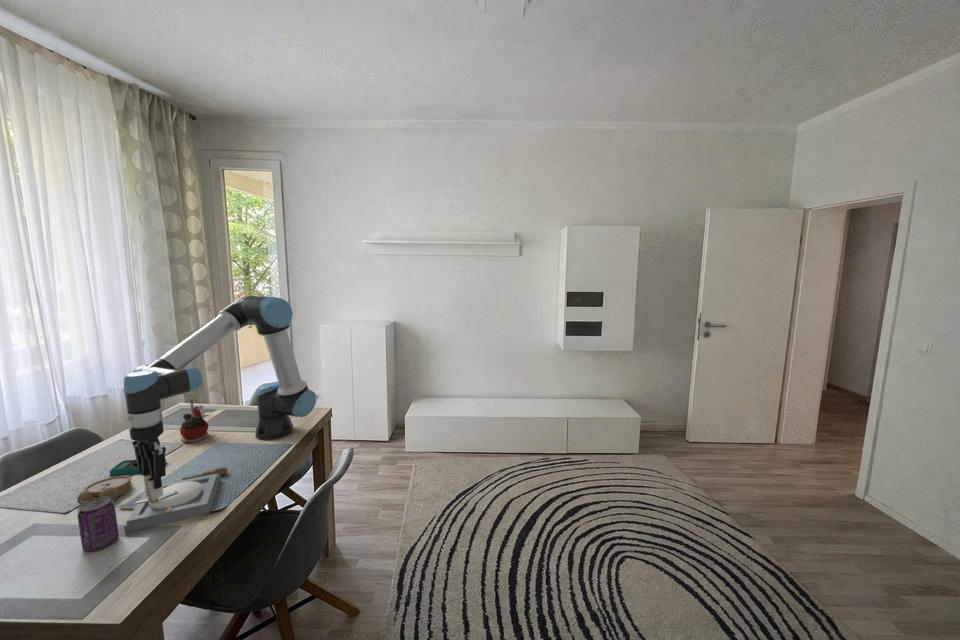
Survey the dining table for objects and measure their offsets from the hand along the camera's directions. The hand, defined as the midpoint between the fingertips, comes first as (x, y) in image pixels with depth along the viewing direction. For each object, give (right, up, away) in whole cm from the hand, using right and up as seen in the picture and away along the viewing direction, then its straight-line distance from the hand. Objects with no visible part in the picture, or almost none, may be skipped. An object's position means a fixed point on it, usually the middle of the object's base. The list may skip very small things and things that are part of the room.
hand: (154, 495), depth 117 cm
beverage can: (-4, -8, -13) cm, 15 cm away
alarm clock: (-23, -4, +8) cm, 25 cm away
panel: (+3, -5, +5) cm, 8 cm away
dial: (+3, -3, +5) cm, 6 cm away
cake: (-25, +2, +50) cm, 56 cm away
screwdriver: (+1, -3, +20) cm, 20 cm away
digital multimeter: (-27, -2, +25) cm, 37 cm away
